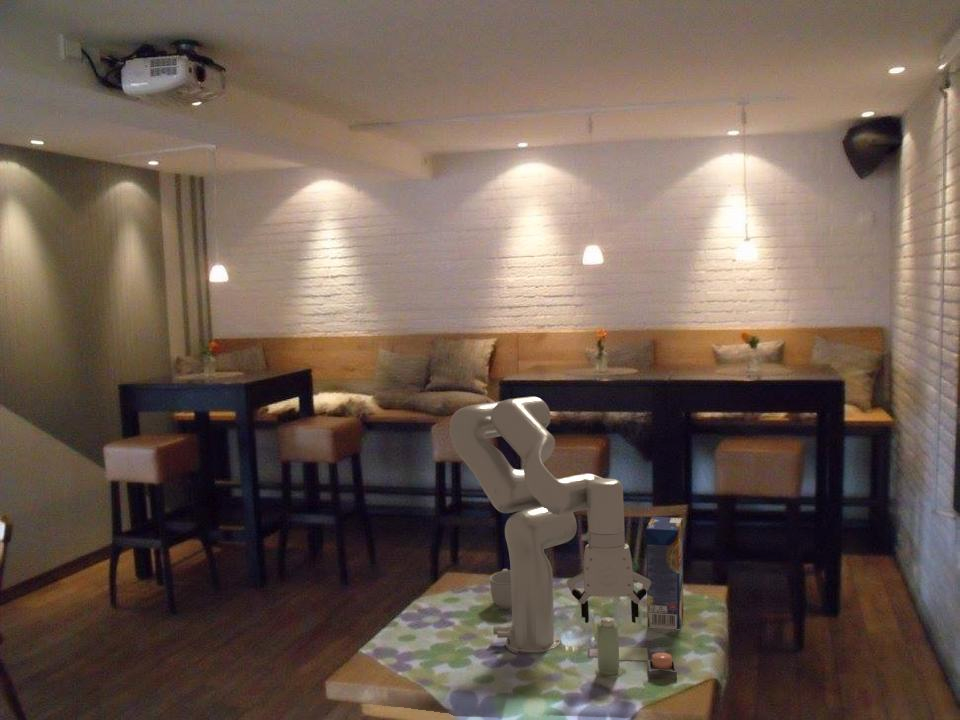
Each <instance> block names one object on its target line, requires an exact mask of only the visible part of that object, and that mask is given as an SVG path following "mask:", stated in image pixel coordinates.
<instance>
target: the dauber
mask: <svg viewBox="0 0 960 720" xmlns="http://www.w3.org/2000/svg"><path fill="white" fill-rule="evenodd" d="M619 633H620V631H619V624H618V623H617V622H615V619H614V618H613V617H602V618H601V619H600V622H598V623H597V625H596V634H597V644H596V645H597V649H598V658H597V668H598V669H599V673H600V674H601V675H604V676H615V675H617V674H618V669H620V661H619V647H620V641H619V637H620V635H619Z"/></svg>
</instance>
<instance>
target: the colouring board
mask: <svg viewBox="0 0 960 720" xmlns="http://www.w3.org/2000/svg"><path fill="white" fill-rule="evenodd" d="M650 654H651V653H650V648H649V647H648V646H647V647H646V646H619V662H645V663H646V662H647V670H648V671H647V672H648V679H649V680H668V681H677V680H678V669H677V666H676V665H677V664H676V660H672V668H670V669H667V670H659V669H656V668H654V667H653V666H652V659H651V656H650ZM587 658H589V659H590V658H593V659H594V658H595V659H598V648H593V647H592V648H587ZM594 674H595V675H596V676H598V677H599V678H603V679H615V678H619V677H621V676H622V675H623V674H624V673H623V670H622V669H620V668H619V669H618V674H617V675H615V676H604V675H601V674H600V673H599V669H598V667H597V668H596V669H595V670H594Z"/></svg>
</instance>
